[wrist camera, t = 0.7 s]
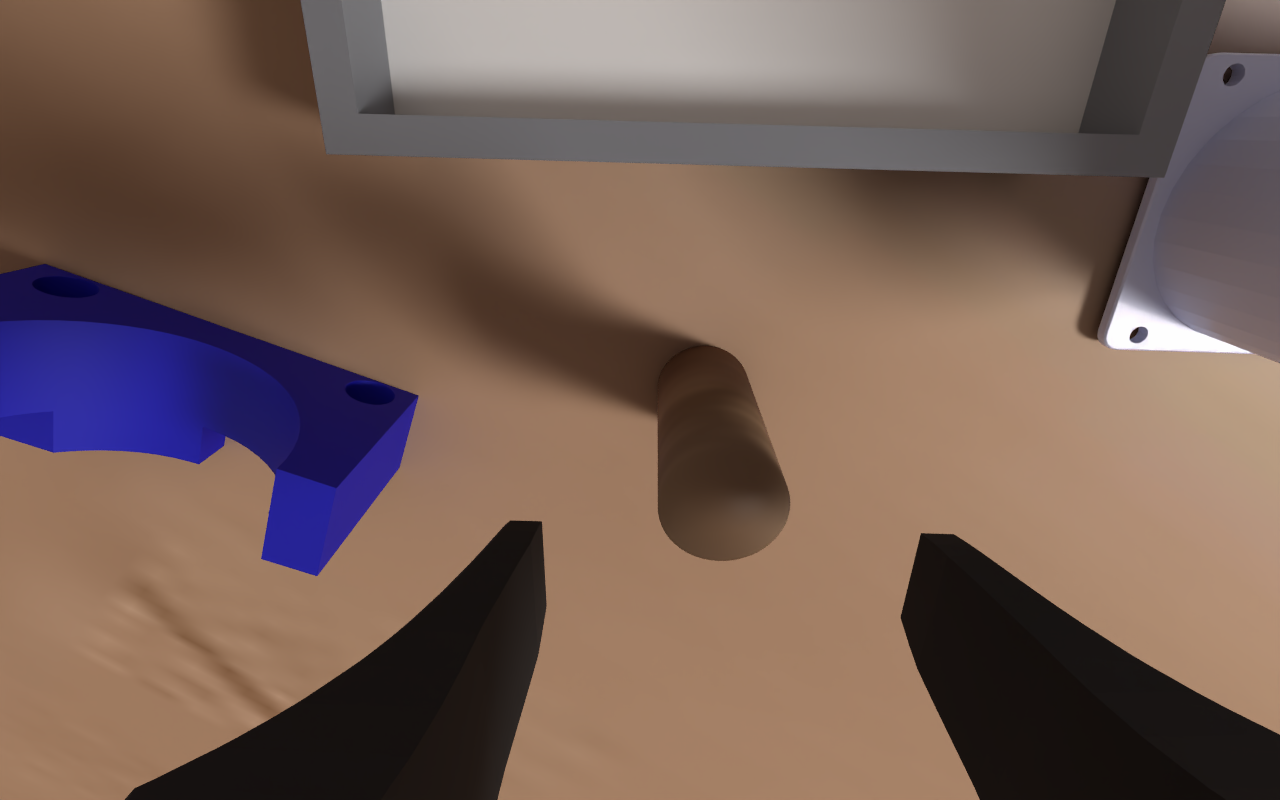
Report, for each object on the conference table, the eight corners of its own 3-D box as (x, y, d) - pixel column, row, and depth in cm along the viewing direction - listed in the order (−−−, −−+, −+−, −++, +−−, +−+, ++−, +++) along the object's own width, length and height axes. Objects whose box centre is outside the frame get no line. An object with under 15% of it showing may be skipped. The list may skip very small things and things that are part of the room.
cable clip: (50, 384, 21) (-160, 474, 16) (50, 263, 20) (-187, 316, 14) (392, 497, 23) (308, 615, 17) (420, 393, 21) (336, 488, 16)
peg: (752, 347, 20) (797, 451, 14) (744, 430, 21) (781, 563, 15) (659, 344, 20) (660, 447, 14) (655, 428, 21) (655, 558, 15)
